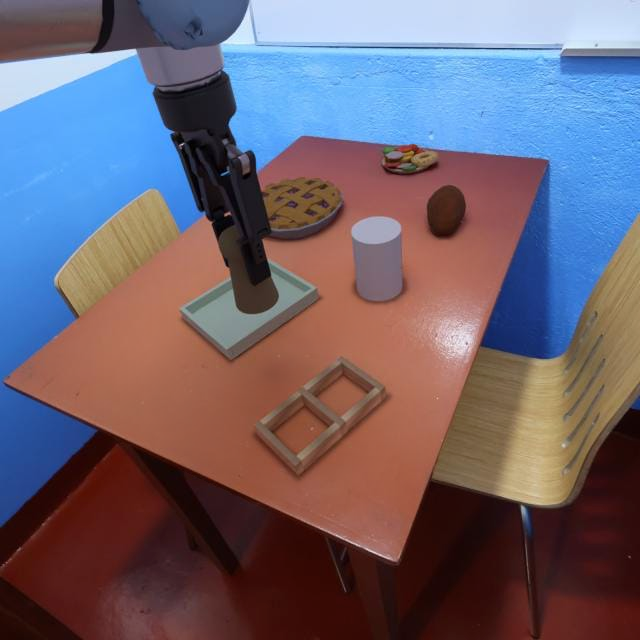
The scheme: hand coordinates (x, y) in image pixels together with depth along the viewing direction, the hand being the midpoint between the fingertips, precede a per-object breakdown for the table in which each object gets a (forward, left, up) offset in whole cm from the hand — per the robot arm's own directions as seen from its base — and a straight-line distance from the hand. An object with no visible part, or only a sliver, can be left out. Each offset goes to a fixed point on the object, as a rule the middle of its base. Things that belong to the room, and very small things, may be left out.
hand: (248, 270), depth 61 cm
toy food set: (+65, +28, -19) cm, 73 cm away
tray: (+6, +15, -19) cm, 25 cm away
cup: (+25, +1, -19) cm, 31 cm away
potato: (+48, +4, -19) cm, 52 cm away
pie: (+32, +33, -19) cm, 50 cm away
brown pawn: (0, 0, -5) cm, 5 cm away
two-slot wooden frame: (-1, -12, -19) cm, 23 cm away
